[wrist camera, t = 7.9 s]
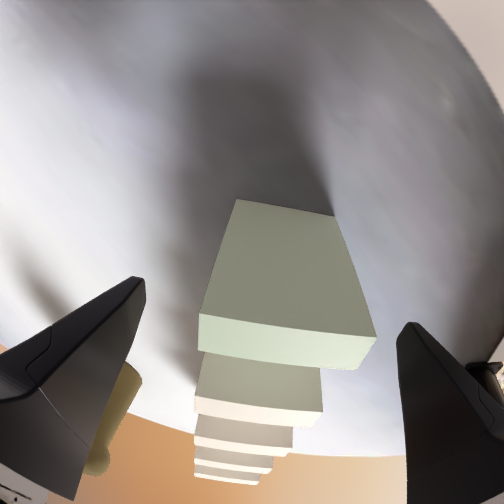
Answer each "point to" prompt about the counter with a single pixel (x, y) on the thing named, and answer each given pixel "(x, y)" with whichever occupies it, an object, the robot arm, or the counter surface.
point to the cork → (112, 419)
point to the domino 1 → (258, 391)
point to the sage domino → (285, 292)
